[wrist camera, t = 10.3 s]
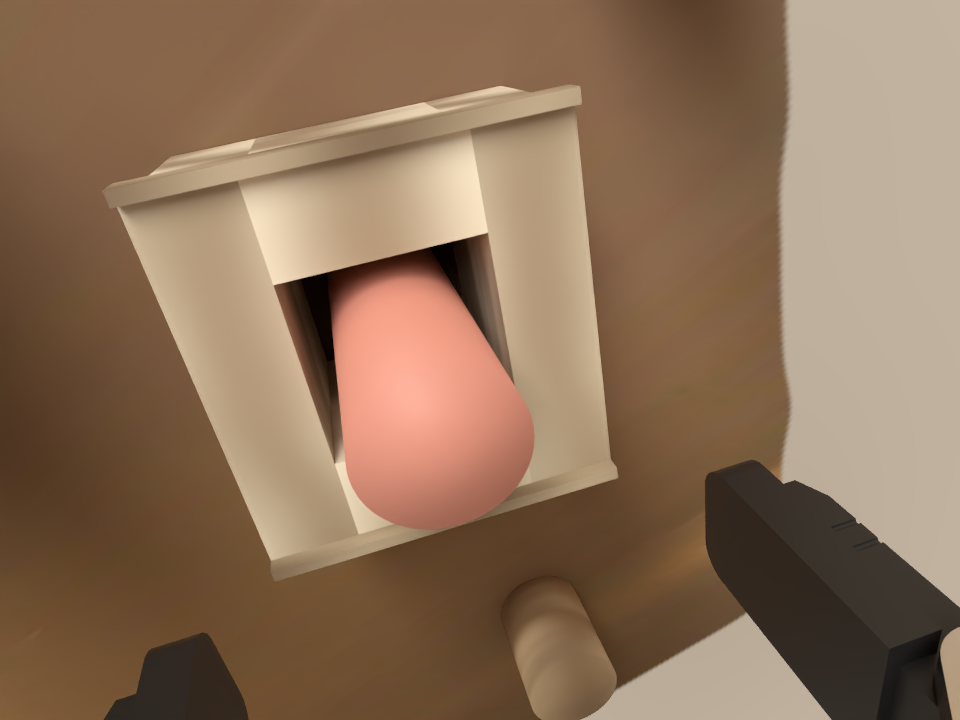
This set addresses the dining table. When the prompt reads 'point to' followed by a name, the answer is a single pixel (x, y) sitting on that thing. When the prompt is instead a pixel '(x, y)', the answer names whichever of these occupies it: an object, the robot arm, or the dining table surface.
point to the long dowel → (422, 396)
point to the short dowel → (557, 650)
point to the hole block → (360, 239)
